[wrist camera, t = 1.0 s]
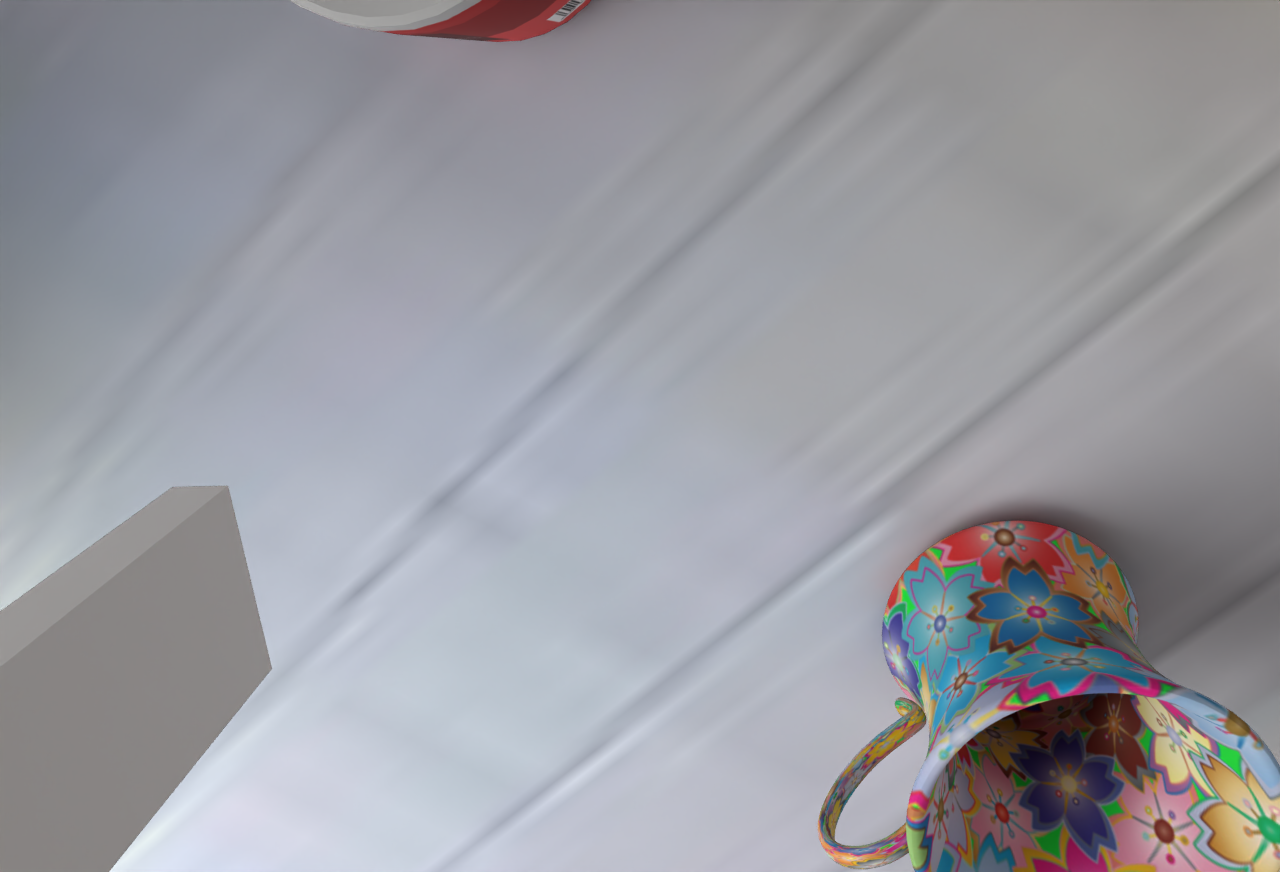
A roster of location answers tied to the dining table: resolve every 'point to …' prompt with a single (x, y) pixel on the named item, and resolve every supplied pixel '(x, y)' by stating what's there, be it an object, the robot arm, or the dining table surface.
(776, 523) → the dining table surface
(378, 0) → the canned food
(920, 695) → the mug
